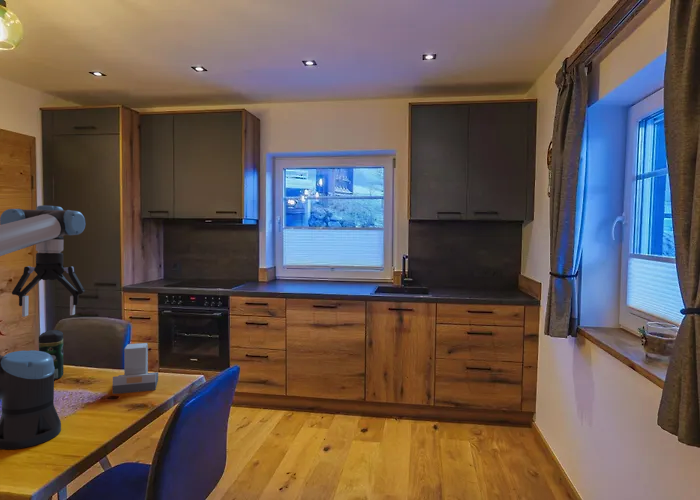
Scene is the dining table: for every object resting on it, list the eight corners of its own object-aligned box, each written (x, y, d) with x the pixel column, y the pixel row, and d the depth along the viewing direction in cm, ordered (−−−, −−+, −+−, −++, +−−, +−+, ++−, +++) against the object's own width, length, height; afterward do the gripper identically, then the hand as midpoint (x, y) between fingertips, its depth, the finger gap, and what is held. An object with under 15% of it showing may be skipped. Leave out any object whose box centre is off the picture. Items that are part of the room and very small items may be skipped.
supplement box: (148, 374, 164) (148, 342, 164) (145, 381, 157) (146, 347, 157) (127, 376, 161) (127, 343, 161) (123, 382, 154) (123, 348, 154)
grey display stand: (155, 390, 156) (155, 374, 156) (112, 394, 151) (112, 377, 151) (158, 379, 167) (158, 364, 167) (118, 383, 163) (118, 367, 162)
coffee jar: (41, 375, 169) (41, 329, 169) (64, 372, 173) (64, 327, 173) (36, 382, 161) (36, 334, 160) (61, 380, 165) (61, 332, 164)
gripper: (95, 252, 148) (94, 312, 149) (10, 251, 141) (10, 314, 141) (89, 253, 141) (88, 316, 142) (-1, 251, 134) (-1, 318, 134)
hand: (49, 315), depth 141 cm, fingers open, 13 cm apart
